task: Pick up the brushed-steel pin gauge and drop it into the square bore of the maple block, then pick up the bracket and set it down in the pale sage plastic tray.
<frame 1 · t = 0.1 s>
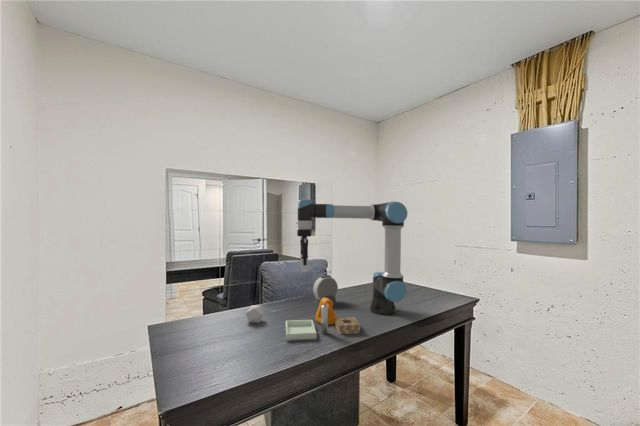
hand: (303, 269, 145), 28 cm above the table, fingers open, 13 cm apart
pin gauge: (324, 333, 131), on the table
alarm clock: (325, 303, 177), on the table
bore block: (347, 329, 136), on the table
tray: (300, 332, 131), on the table
bracket: (327, 322, 145), on the table
die: (255, 322, 144), on the table
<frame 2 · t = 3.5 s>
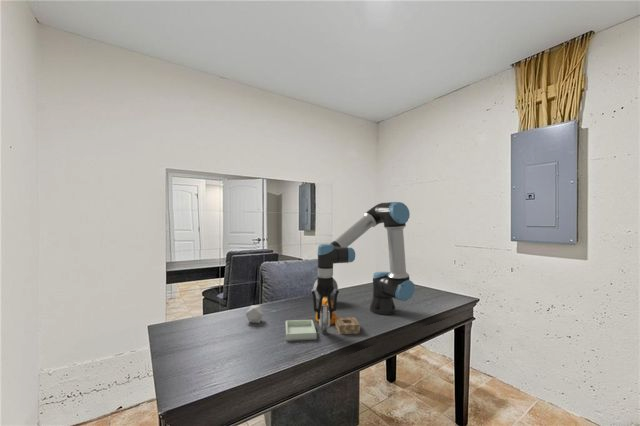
hand: (324, 325, 131), 4 cm above the table, fingers closed on pin gauge, 3 cm apart
pin gauge: (324, 333, 131), on the table, touching gripper
everything else where it was.
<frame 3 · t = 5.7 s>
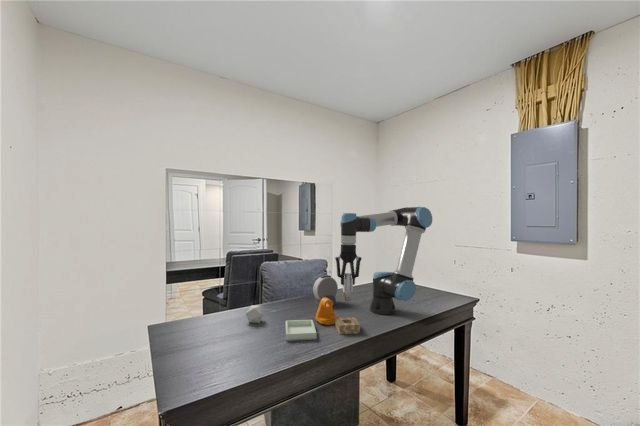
hand: (347, 291, 136), 19 cm above the table, fingers closed on pin gauge, 3 cm apart
pin gauge: (347, 300, 136), point 15 cm above the table, touching gripper
everything else where it was.
when the fingers open (5 cm above the table, at t = 8.3 s): pin gauge stays where it is, resting in bore block.
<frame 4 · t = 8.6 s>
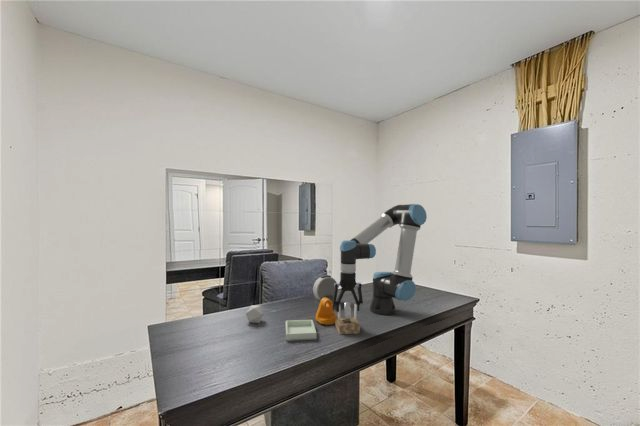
hand: (347, 317, 136), 6 cm above the table, fingers open, 8 cm apart
pin gauge: (347, 329, 136), resting in bore block
everything else where it was.
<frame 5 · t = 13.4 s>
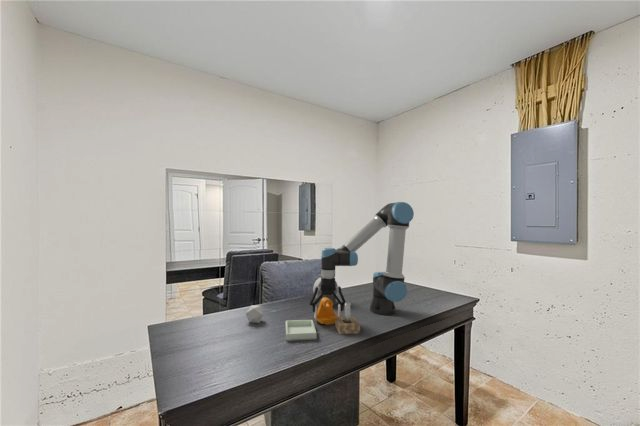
hand: (327, 317, 146), 2 cm above the table, fingers closed on bracket, 12 cm apart
bracket: (327, 322, 146), on the table, touching gripper
everything else where it was.
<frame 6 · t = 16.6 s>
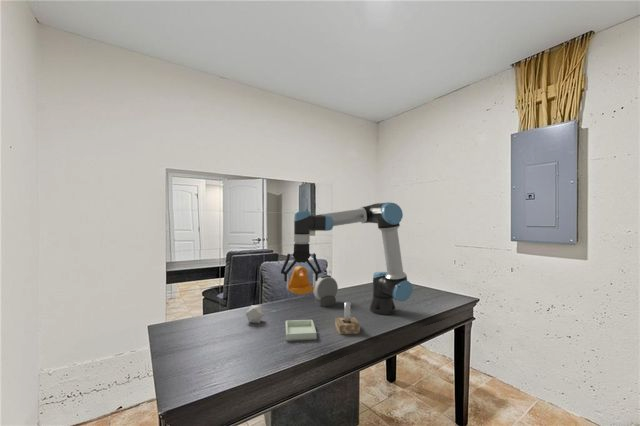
hand: (300, 288, 131), 21 cm above the table, fingers closed on bracket, 12 cm apart
bracket: (301, 292, 131), point 19 cm above the table, touching gripper
everything else where it was.
when the fingers open (5 cm above the table, at t = 20.2 s): bracket stays where it is, resting on tray.
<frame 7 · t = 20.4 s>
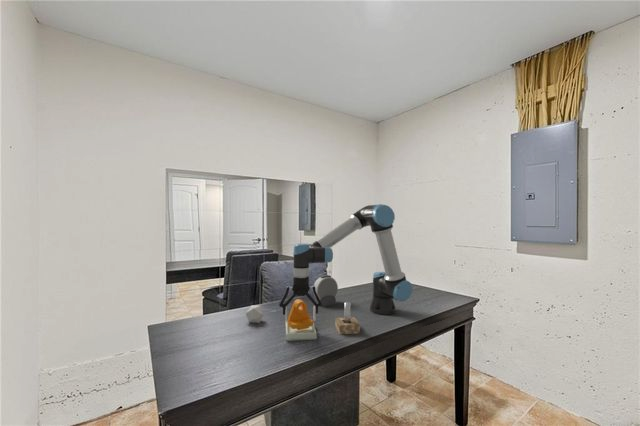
hand: (300, 320, 131), 6 cm above the table, fingers open, 13 cm apart
bracket: (300, 326, 131), point 3 cm above the table, touching tray
everything else where it was.
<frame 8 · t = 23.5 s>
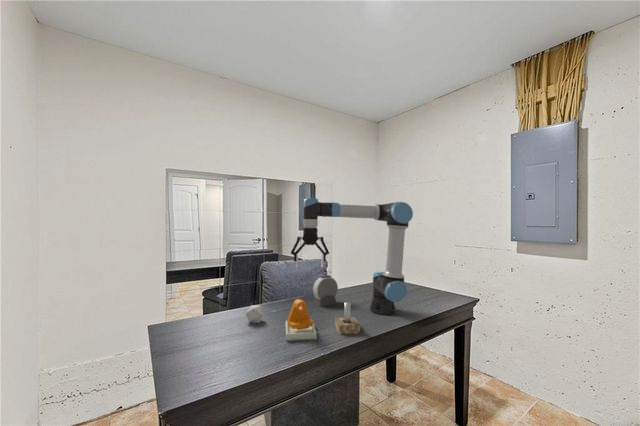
hand: (309, 267, 145), 29 cm above the table, fingers open, 13 cm apart
nothing on the table moved.
at the end: pin gauge 0.0 cm off-centre on the bore block, point 0.0 cm above the bore block's base; bracket inside the target area on the tray (0.2 cm from its centre), point 2.8 cm above the tray's base; the gripper is holding nothing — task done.
